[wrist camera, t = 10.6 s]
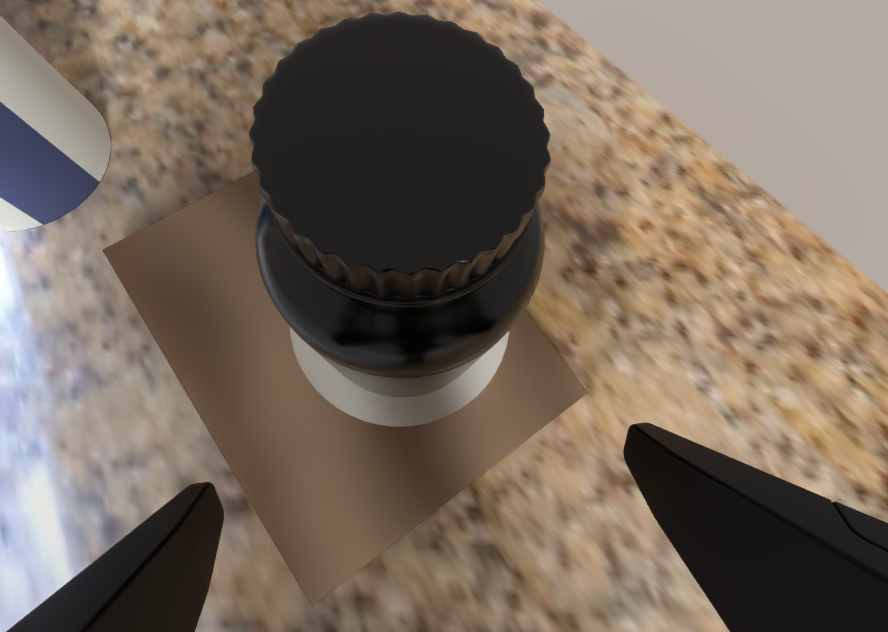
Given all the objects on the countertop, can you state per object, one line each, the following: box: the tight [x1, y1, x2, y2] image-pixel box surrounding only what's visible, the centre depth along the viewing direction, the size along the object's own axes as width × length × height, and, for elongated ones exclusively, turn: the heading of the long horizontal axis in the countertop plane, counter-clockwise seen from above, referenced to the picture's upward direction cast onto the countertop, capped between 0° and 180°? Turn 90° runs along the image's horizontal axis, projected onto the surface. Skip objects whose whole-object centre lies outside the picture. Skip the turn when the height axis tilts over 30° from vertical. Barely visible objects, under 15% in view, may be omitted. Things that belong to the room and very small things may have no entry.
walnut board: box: [103, 171, 588, 606], centre depth 19 cm, size 13×16×2 cm
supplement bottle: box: [249, 12, 551, 397], centre depth 13 cm, size 7×7×12 cm
